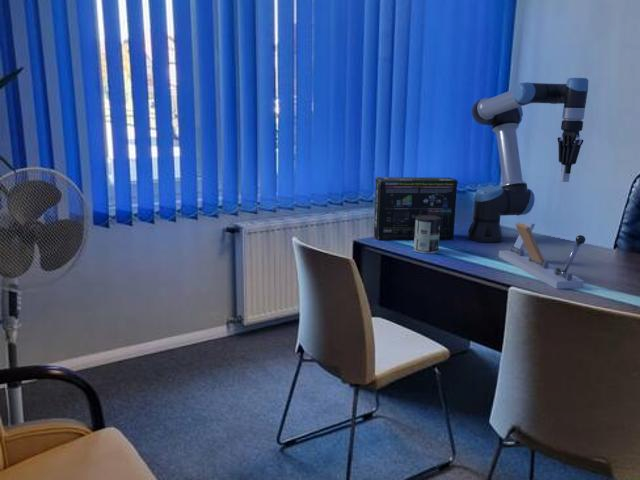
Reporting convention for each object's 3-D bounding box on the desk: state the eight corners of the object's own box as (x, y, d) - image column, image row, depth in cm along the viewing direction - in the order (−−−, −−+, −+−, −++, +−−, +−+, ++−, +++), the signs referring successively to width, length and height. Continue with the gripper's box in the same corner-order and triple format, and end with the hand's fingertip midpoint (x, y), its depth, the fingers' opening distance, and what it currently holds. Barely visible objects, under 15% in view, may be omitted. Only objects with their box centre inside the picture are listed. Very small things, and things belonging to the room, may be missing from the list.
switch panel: (521, 255, 224) (522, 244, 223) (583, 287, 187) (585, 274, 185) (498, 256, 222) (499, 245, 221) (556, 288, 185) (558, 275, 184)
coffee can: (436, 247, 234) (438, 214, 230) (440, 254, 224) (443, 220, 220) (411, 246, 234) (413, 214, 230) (415, 253, 224) (417, 219, 220)
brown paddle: (535, 259, 207) (518, 221, 202) (547, 264, 200) (529, 226, 195) (531, 261, 207) (514, 224, 202) (543, 267, 200) (525, 229, 195)
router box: (446, 234, 257) (451, 177, 251) (454, 240, 247) (460, 180, 240) (371, 234, 254) (373, 176, 247) (375, 240, 243) (378, 179, 236)
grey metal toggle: (560, 275, 192) (581, 235, 190) (569, 279, 187) (590, 238, 185) (554, 272, 191) (574, 232, 189) (562, 276, 186) (583, 235, 184)
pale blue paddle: (514, 251, 220) (528, 222, 218) (521, 254, 216) (536, 225, 214) (510, 250, 220) (525, 220, 218) (517, 253, 215) (532, 223, 213)
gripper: (592, 120, 206) (583, 184, 212) (571, 119, 218) (563, 179, 224) (574, 120, 204) (566, 184, 210) (553, 119, 217) (546, 179, 223)
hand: (564, 181), depth 217 cm, fingers closed
